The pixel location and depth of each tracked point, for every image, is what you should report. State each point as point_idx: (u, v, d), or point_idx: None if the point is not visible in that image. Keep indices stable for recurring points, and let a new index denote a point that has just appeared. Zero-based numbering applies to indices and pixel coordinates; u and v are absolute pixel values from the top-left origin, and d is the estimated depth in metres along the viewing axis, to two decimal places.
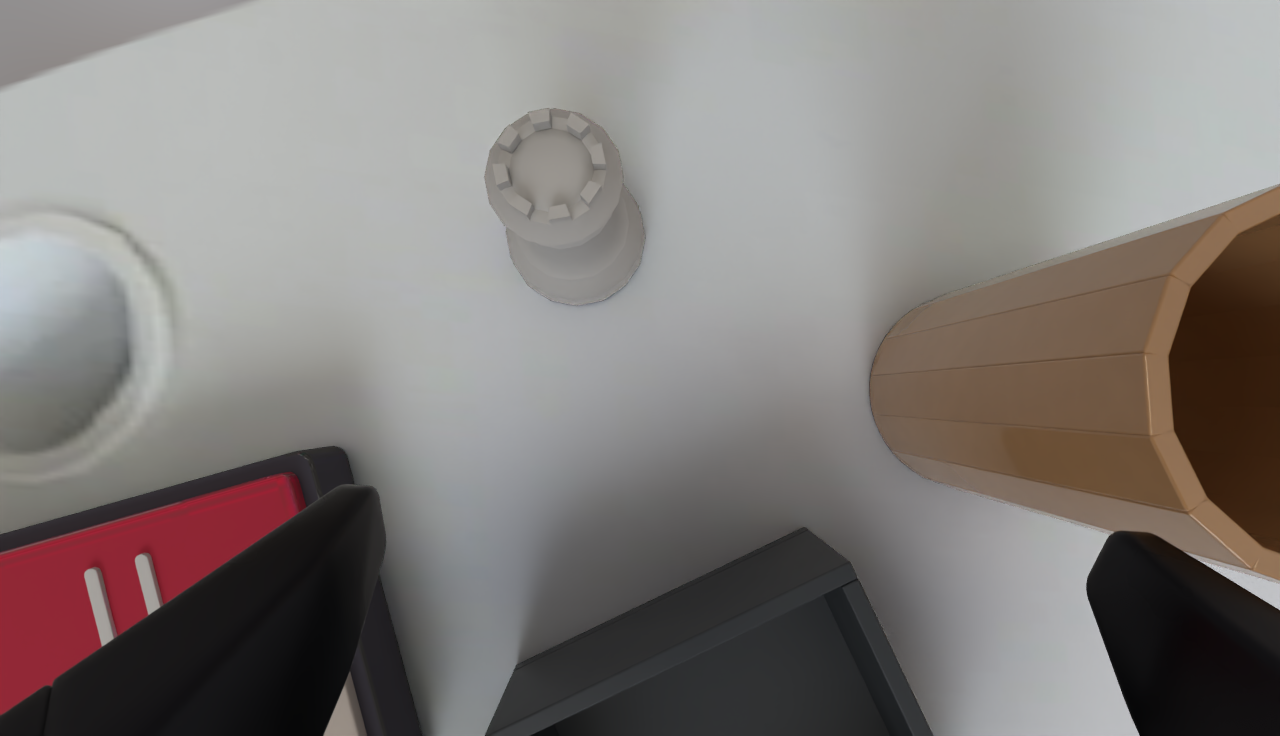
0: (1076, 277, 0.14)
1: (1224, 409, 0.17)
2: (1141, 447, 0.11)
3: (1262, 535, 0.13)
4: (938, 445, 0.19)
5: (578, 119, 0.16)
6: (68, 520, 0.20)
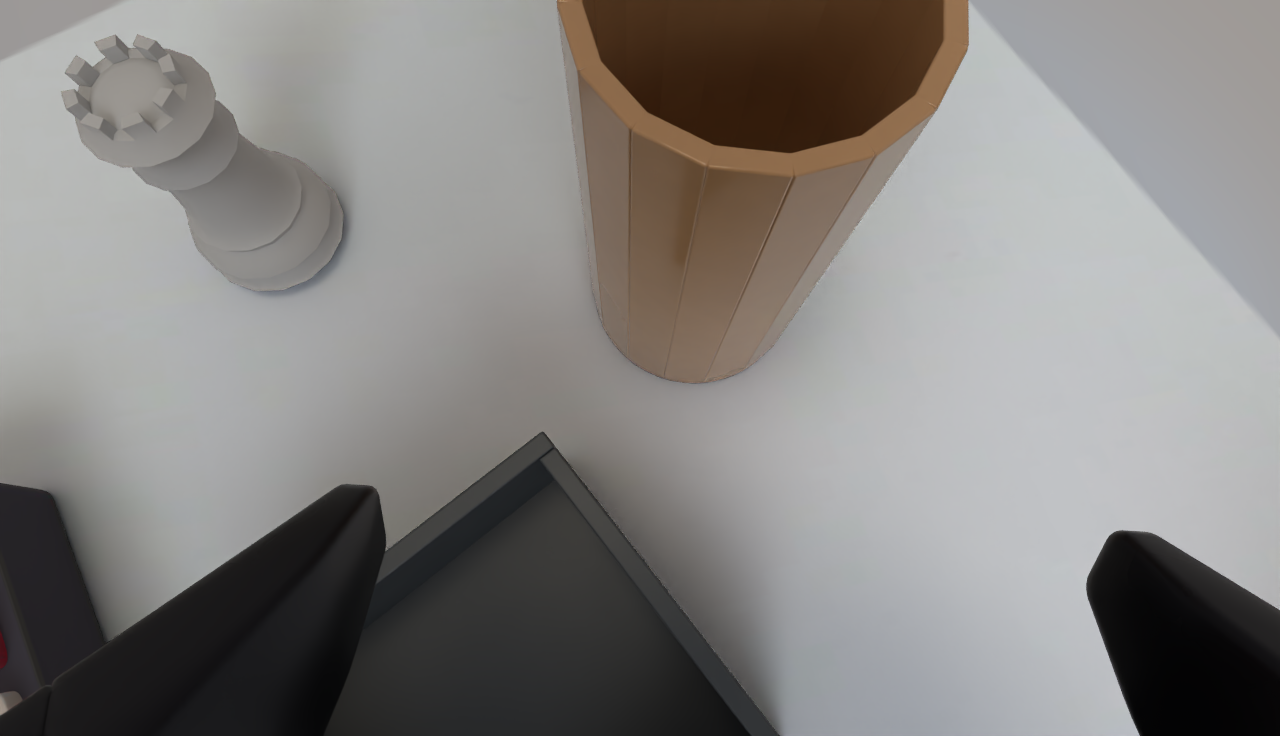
0: None
1: None
2: (587, 93, 0.11)
3: None
4: (616, 302, 0.19)
5: (145, 39, 0.17)
6: None
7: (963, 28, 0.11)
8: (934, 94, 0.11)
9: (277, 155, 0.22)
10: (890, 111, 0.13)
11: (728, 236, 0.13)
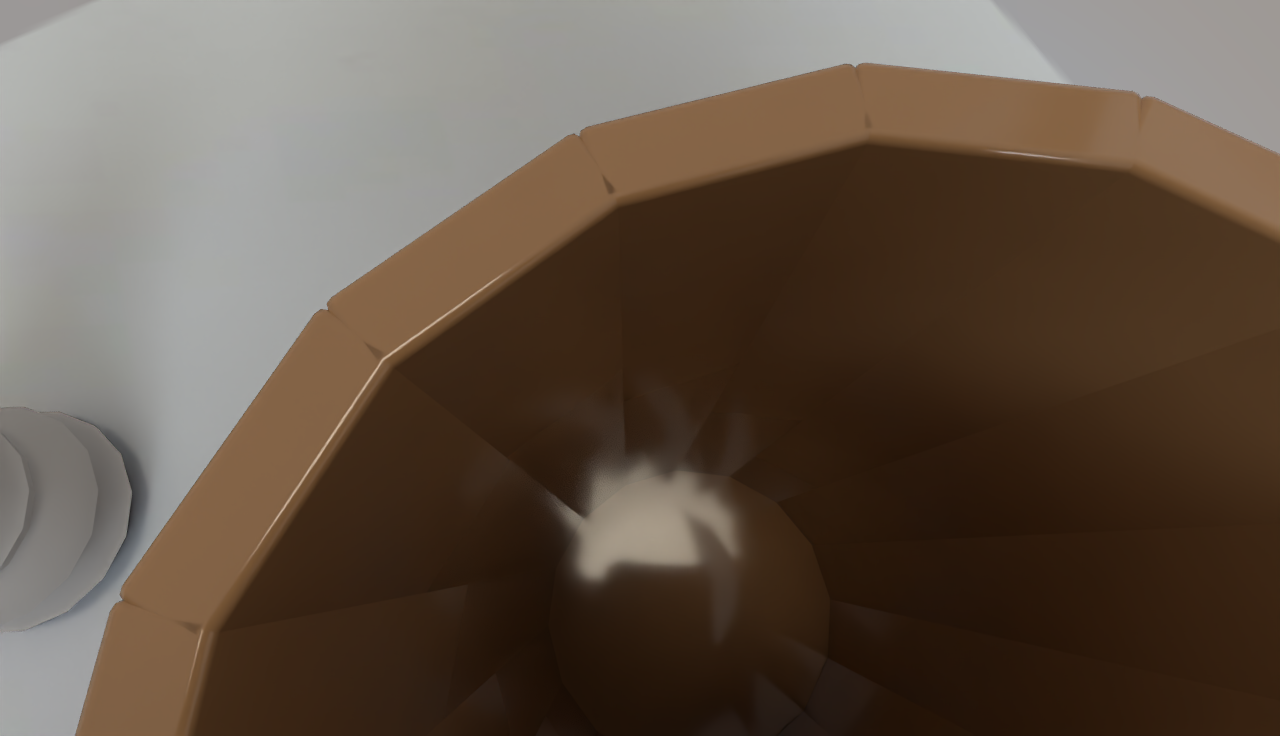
0: None
1: (989, 643, 0.08)
2: None
3: None
4: None
5: None
6: None
7: None
8: None
9: None
10: None
11: None
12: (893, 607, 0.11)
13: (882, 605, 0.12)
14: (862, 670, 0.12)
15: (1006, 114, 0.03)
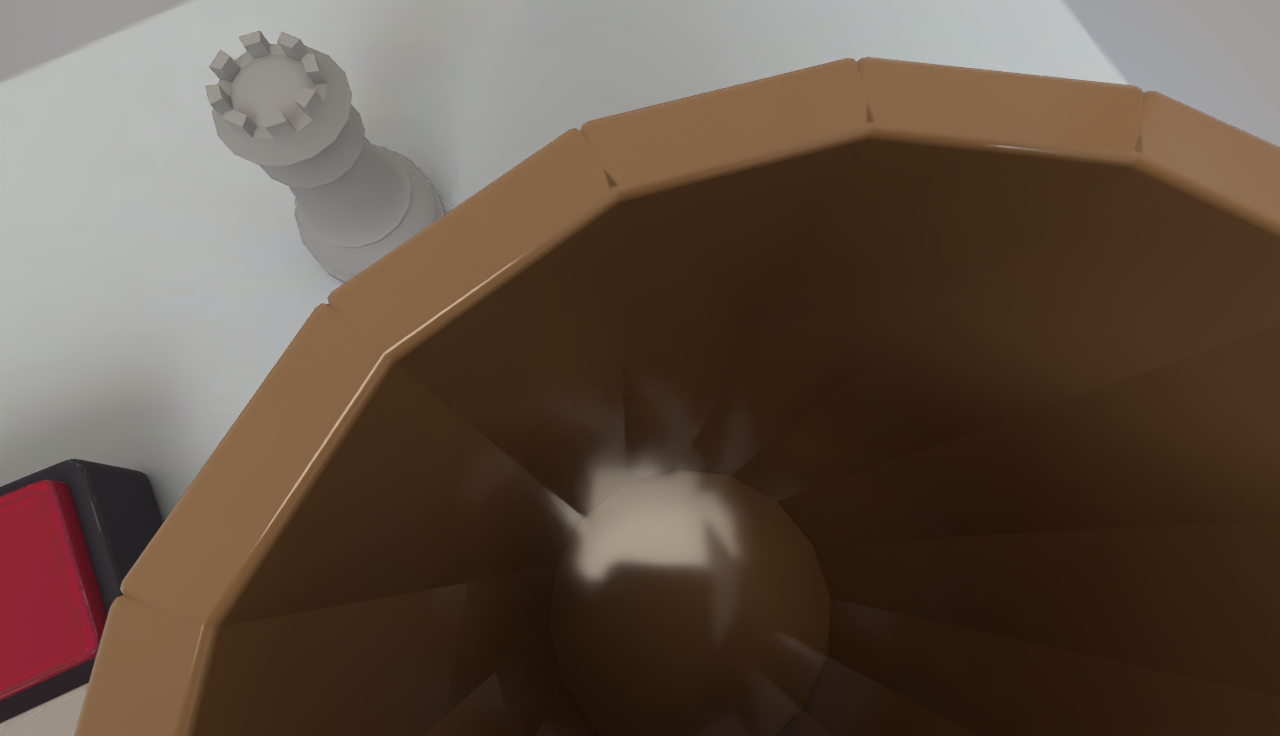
0: None
1: (990, 642, 0.08)
2: None
3: None
4: None
5: (289, 36, 0.16)
6: None
7: None
8: None
9: (388, 152, 0.22)
10: None
11: None
12: (894, 606, 0.11)
13: (883, 604, 0.12)
14: (863, 669, 0.12)
15: (1009, 108, 0.03)
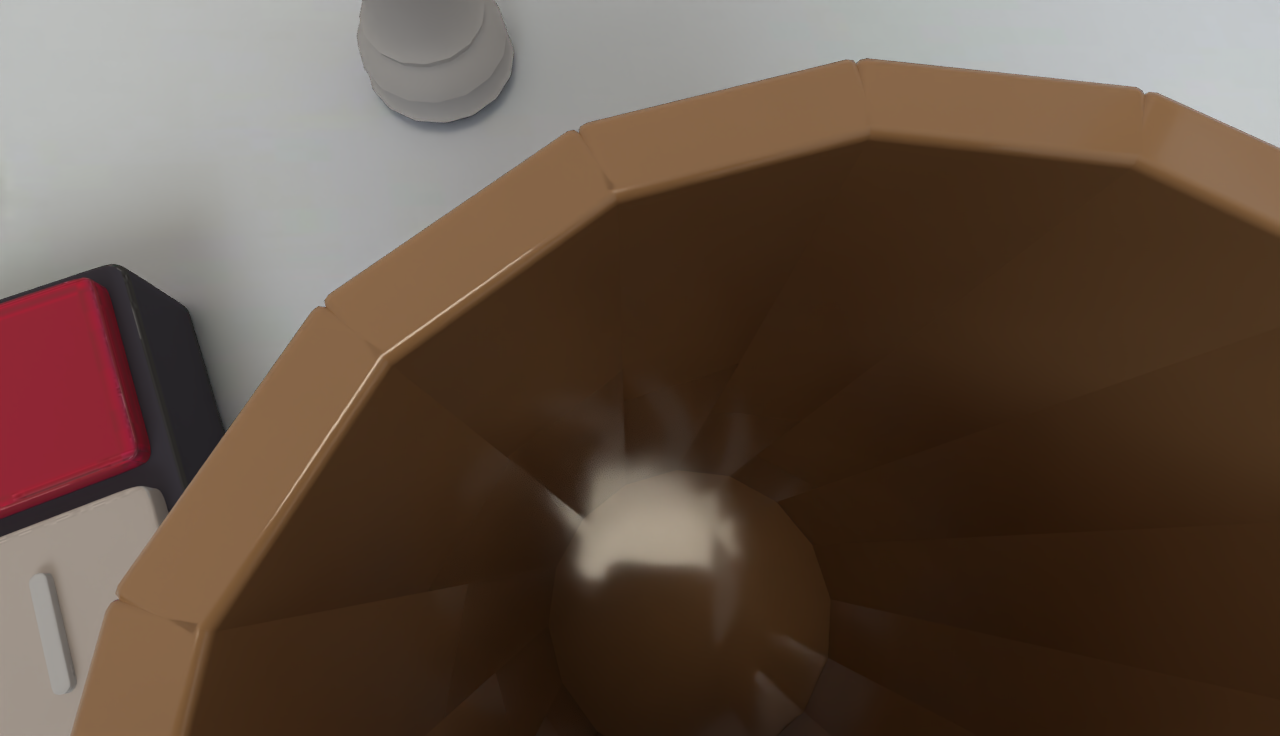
0: None
1: (990, 643, 0.08)
2: None
3: None
4: None
5: None
6: None
7: None
8: None
9: None
10: None
11: None
12: (894, 607, 0.11)
13: (883, 605, 0.12)
14: (862, 670, 0.12)
15: (1009, 109, 0.03)
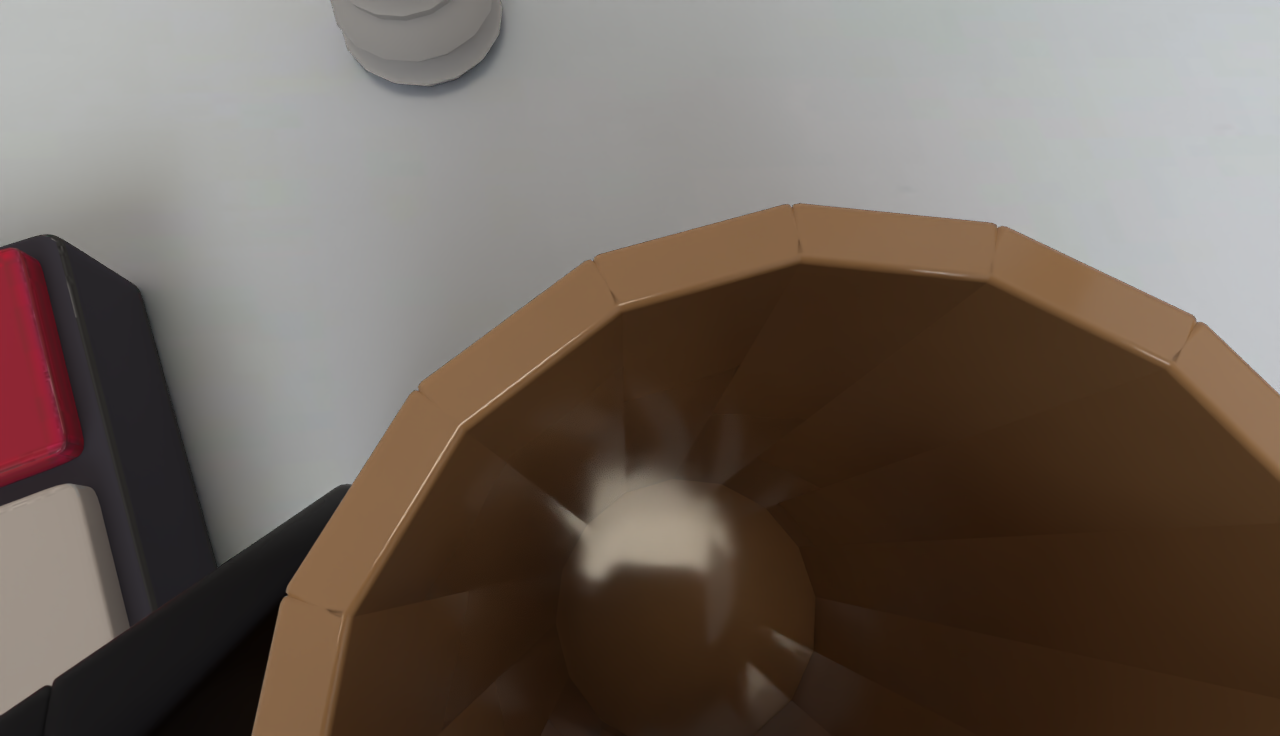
0: None
1: (943, 632, 0.09)
2: None
3: None
4: None
5: None
6: None
7: None
8: None
9: None
10: None
11: None
12: (868, 603, 0.12)
13: (859, 601, 0.13)
14: (842, 660, 0.13)
15: (900, 241, 0.04)
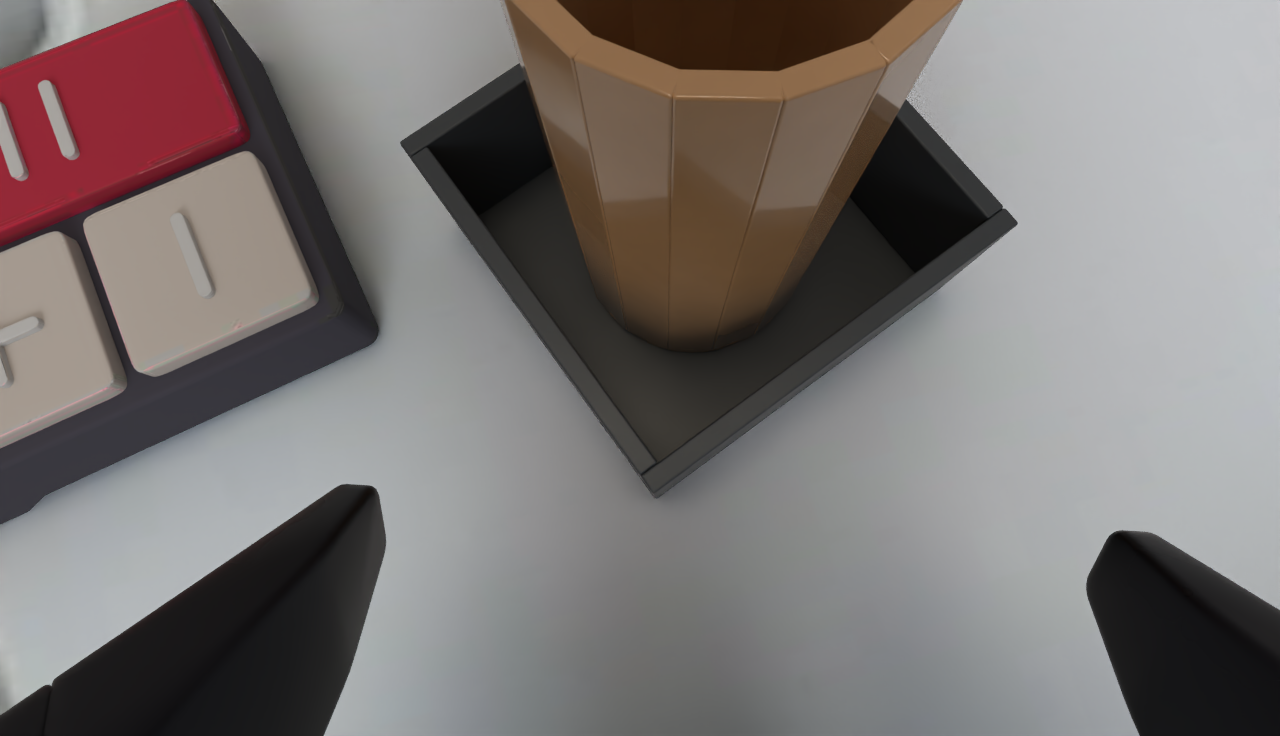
0: None
1: None
2: (518, 18, 0.09)
3: None
4: (603, 271, 0.17)
5: None
6: None
7: None
8: None
9: None
10: None
11: (712, 185, 0.10)
12: None
13: None
14: None
15: None
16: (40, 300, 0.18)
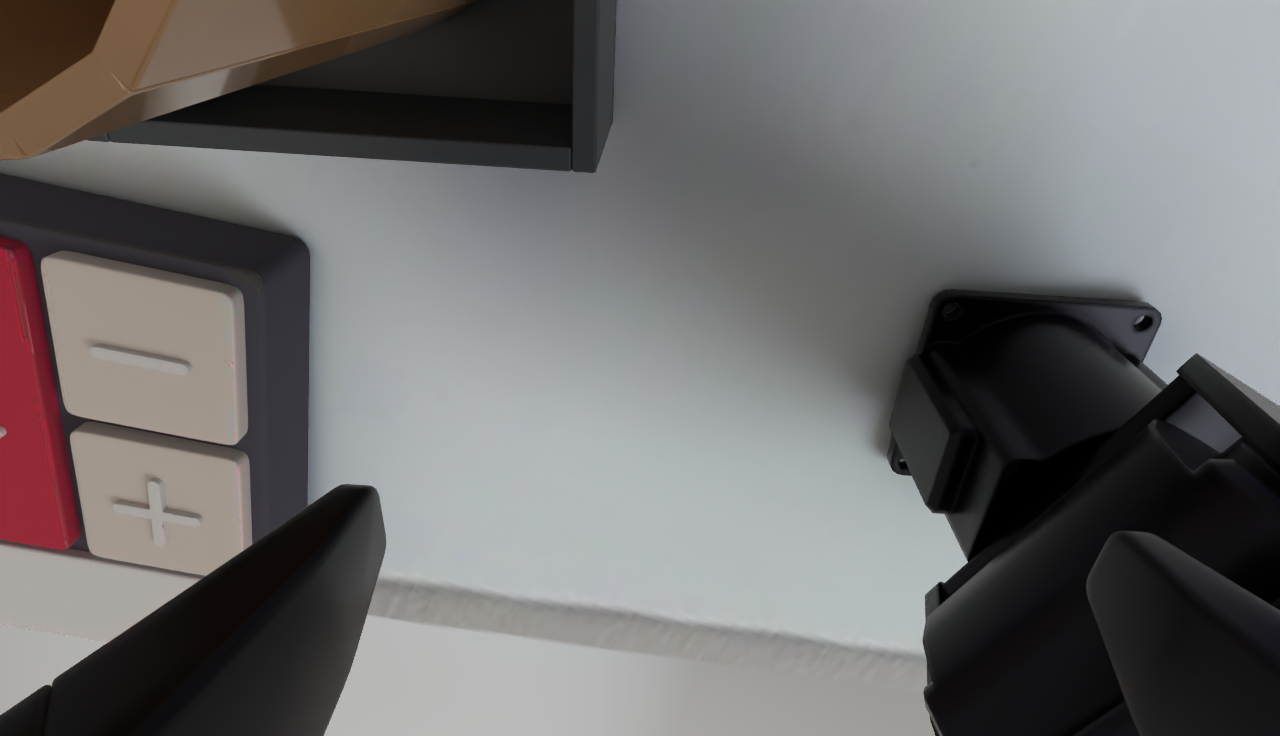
0: None
1: None
2: None
3: None
4: None
5: None
6: None
7: None
8: None
9: None
10: None
11: (285, 14, 0.08)
12: None
13: None
14: None
15: None
16: (135, 471, 0.21)
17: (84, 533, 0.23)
